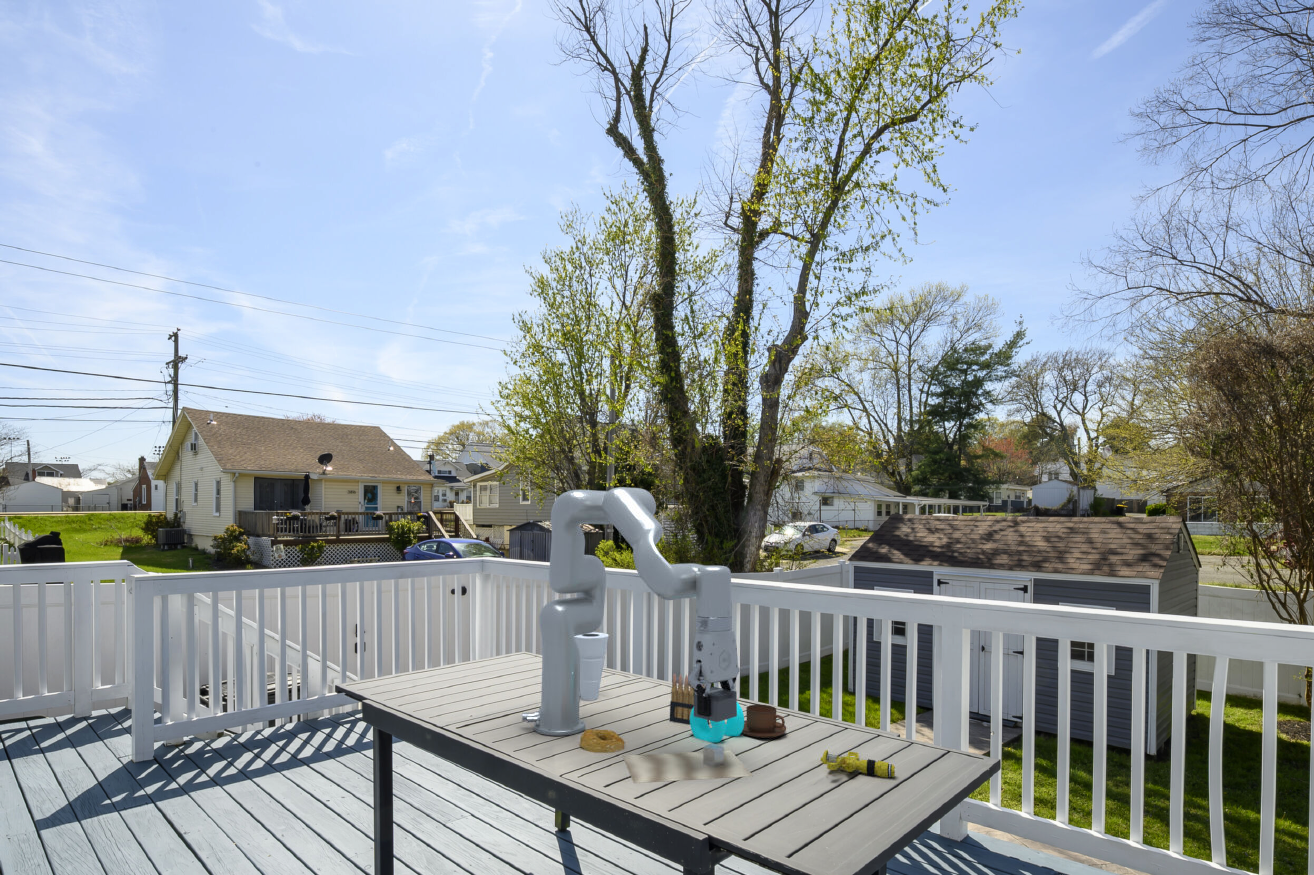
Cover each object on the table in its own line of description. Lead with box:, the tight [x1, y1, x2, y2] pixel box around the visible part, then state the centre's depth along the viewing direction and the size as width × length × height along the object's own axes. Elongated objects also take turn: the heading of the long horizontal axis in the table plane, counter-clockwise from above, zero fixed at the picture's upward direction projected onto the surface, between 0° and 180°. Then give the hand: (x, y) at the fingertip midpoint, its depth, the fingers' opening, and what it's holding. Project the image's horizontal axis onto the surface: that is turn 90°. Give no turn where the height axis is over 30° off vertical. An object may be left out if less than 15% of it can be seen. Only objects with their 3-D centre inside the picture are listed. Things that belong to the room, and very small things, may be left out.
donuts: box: [689, 701, 745, 744], centre depth 168 cm, size 10×10×10 cm
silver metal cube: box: [702, 742, 725, 767], centre depth 148 cm, size 3×3×4 cm
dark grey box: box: [694, 686, 738, 722], centre depth 149 cm, size 6×6×5 cm
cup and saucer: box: [741, 704, 787, 739], centre depth 175 cm, size 12×12×6 cm
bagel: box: [579, 728, 626, 754], centre depth 159 cm, size 10×11×5 cm
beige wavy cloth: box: [622, 750, 754, 784], centre depth 147 cm, size 24×16×2 cm, turn 100°
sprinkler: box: [820, 749, 896, 779], centre depth 149 cm, size 19×4×15 cm
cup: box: [574, 631, 609, 702], centre depth 207 cm, size 11×11×18 cm
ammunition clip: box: [668, 673, 710, 726], centre depth 183 cm, size 11×2×12 cm, turn 60°
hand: (715, 711), depth 149 cm, fingers closed on dark grey box, 6 cm apart
